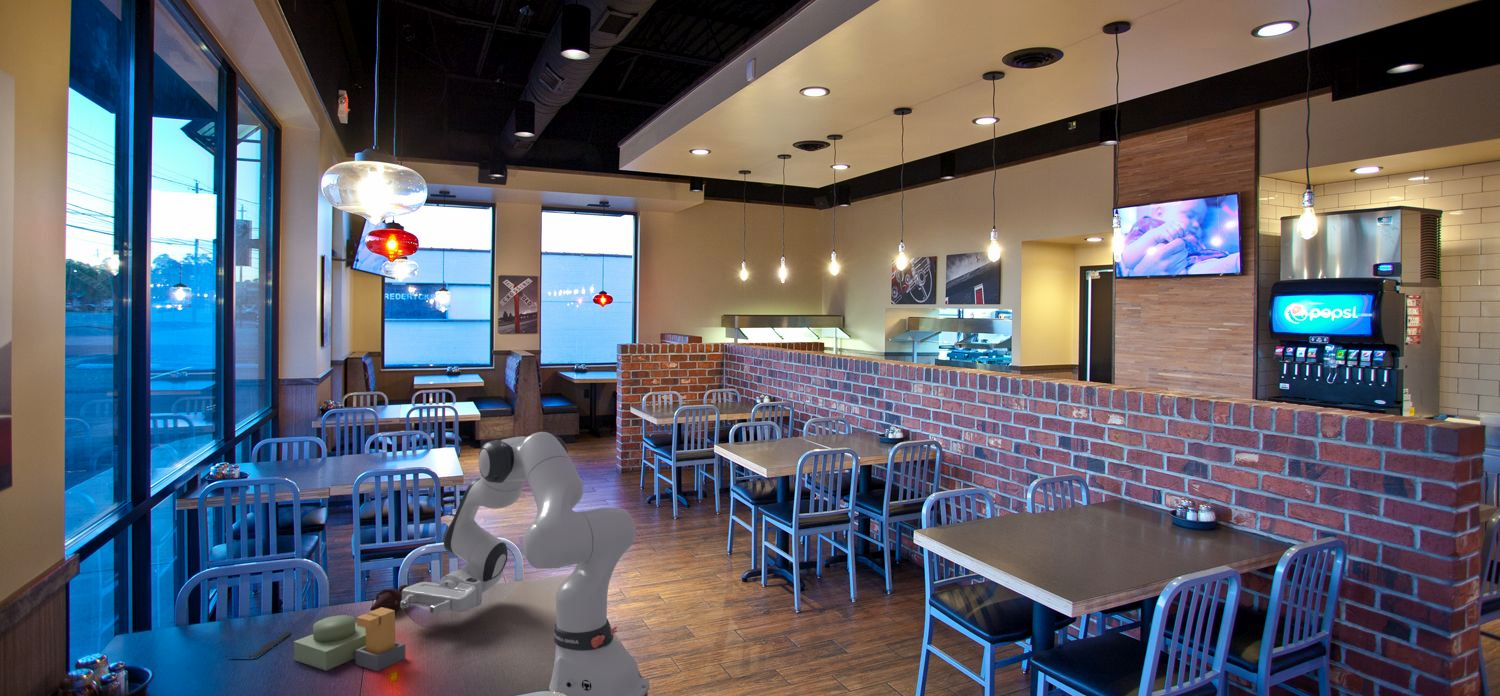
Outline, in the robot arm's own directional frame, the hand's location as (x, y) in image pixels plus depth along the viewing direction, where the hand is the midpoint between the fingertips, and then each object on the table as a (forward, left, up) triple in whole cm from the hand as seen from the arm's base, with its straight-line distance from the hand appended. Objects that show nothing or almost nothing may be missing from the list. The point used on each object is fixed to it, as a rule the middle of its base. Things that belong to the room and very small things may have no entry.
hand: (417, 607), depth 193 cm
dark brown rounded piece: (+22, -9, -9) cm, 26 cm away
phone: (+32, +20, -9) cm, 39 cm away
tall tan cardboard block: (-2, +13, -9) cm, 16 cm away
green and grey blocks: (+6, +14, -8) cm, 17 cm away
